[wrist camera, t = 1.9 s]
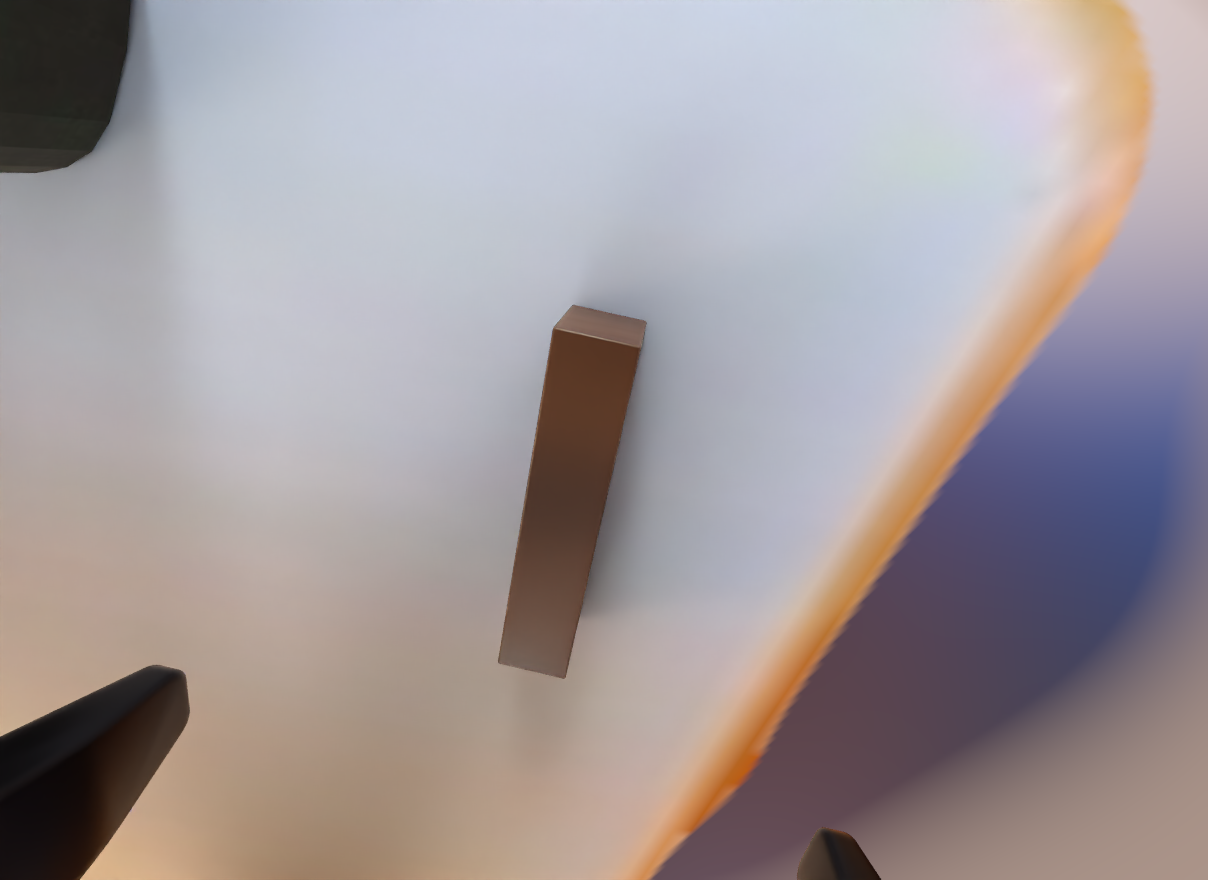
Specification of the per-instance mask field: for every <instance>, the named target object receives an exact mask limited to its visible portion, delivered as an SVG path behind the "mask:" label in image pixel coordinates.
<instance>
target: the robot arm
mask: <svg viewBox="0 0 1208 880" xmlns="http://www.w3.org/2000/svg"><path fill="white" fill-rule="evenodd" d="M189 713H190V707H189V698H188V689H187V680H186V675H185V674H184V673H183V671H181V670H178V669H174V668H170V667H166V666H162V665H152V666H148V667H146V668H143V669H141V670H139V671H137V672H135V673H133V674H131V675H129V676H127V677H124V678H122V679H120V680H118V681H116V682H114V683H112V684H110V685H108V686H106V687H103V688H101V689H99V690H97V691H95V692H93V693H91V694H89V695H87V696H85V697H82V698H80V699H78V700H76V701H74V702H72V703H70V704H68V705H66V706H64V707H61V708H59V709H57V710H55V711H53V712H51V713H49V714H47V715H45V716H43V717H40V718H38V719H36V720H34V721H32V722H30V723H28V724H26V725H24V726H22V727H20V728H17V729H15V730H13V731H11V732H9V733H7V734H5V735H3V736H1V737H0V880H80V879H81V877H82V876H83V875H84V874H85V872H86V871H87V870H88V868H89V867H90V866H91V865H92V863H93V862H94V861H95V859H96V858H97V857H98V856H99V854H100V853H101V852H102V850H103V849H104V848H105V846H106V845H107V844H108V842H109V841H110V839H111V838H112V837H113V835H114V834H115V832H116V831H117V829H118V828H119V827H120V825H121V824H122V822H123V821H124V819H125V818H126V816H127V815H128V813H129V812H130V810H131V809H132V807H133V806H134V804H135V802H136V801H137V799H138V798H139V796H140V795H141V793H142V792H143V790H144V789H145V787H146V786H147V784H148V783H149V781H150V780H151V778H152V777H153V775H154V774H155V772H156V771H157V769H158V768H159V766H160V765H161V763H162V762H163V760H164V759H165V757H166V756H167V754H168V753H169V751H170V750H171V748H172V747H173V745H174V744H175V742H176V741H177V739H178V737H179V736H180V734H181V733H182V731H183V730H184V728H185V726H186V724H187V721H188V718H189ZM797 880H881V878H880V877H879V875H878V874H877V872H876V871H875V869H874V868H873V866H872V865H871V863H870V862H869V860H868V859H867V857H866V856H865V854H864V853H863V851H862V850H861V848H860V847H859V845H858V844H857V842H856V841H855V839H853V837H852V836H850V835H849V834H847V833H845V832H841V831H837V830H833V829H829V828H825V827H822V828H820V829H818V830H817V832H816V833H815V835H814V836H813V838H812V840H811V842H810V844H809V846H808V848H807V850H806V851H805V853H804V855H803V857H802V859H801V861H800V863H799V867H798V873H797Z"/></svg>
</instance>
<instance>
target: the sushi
mask: <svg viewBox="0 0 1208 880" xmlns="http://www.w3.org/2000/svg"><path fill="white" fill-rule="evenodd" d="M129 13H130V0H0V172H7V173H37V172H43V171H48V170H54V169H59V168H64V167H68V166H69V165H71V164H72V163H74V162H76V161H77V160H79V159H80V158H82V157H84V156H85V155H87V154H88V153H90V152H92V150H93V149H94V147H95V145H96V144H97V142H98V140H99V139H100V137H101V135H102V134H103V132H104V130H105V129H106V127H107V125H108V124H109V122H110V118H111V114H112V109H113V105H114V101H115V97H116V93H117V88H118V84H119V80H120V76H121V72H122V67H123V63H124V59H125V55H126V51H127V39H128V26H129Z"/></svg>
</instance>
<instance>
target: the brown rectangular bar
mask: <svg viewBox="0 0 1208 880" xmlns="http://www.w3.org/2000/svg"><path fill="white" fill-rule="evenodd" d="M646 324H647V323H646V321H643V320H639V319H635V318H630V317H626V316H621V315H617V314H612V313H608V312H603V311H599V310H594V309H590V308H585V307H581V306H576V305H572V306H571V308H570V309H569V310H568V311H567V312H566V313H565V315H564V316H563V317H562V318H561V319H560V321H559V322H558V323H557V324H556V325H555V326H554V328H553V331H552V337H551V343H550V349H549V355H548V361H547V367H546V373H545V379H544V386H543V392H542V398H541V404H540V410H539V416H538V422H537V428H536V434H535V440H534V446H533V452H532V458H531V464H530V470H529V476H528V483H527V489H526V495H525V501H524V507H523V513H522V519H521V525H520V531H519V537H518V543H517V549H516V555H515V561H514V567H513V573H512V580H511V586H510V592H509V598H508V604H507V610H506V616H505V622H504V628H503V634H502V640H501V646H500V652H499V658H498V663H500V664H504V665H508V666H513V667H517V668H521V669H525V670H529V671H534V672H538V673H542V674H546V675H550V676H555V677H559V678H563V679H564V678H565V677H566V673H567V669H568V665H569V660H570V656H571V652H572V647H573V643H574V639H575V634H576V630H577V625H578V621H579V617H580V612H581V608H582V604H583V599H584V595H585V591H586V586H587V582H588V578H589V573H590V569H591V564H592V560H593V556H594V551H595V547H596V543H597V538H598V534H599V530H600V525H601V521H602V517H603V512H604V508H605V504H606V499H607V495H608V490H609V486H610V482H611V477H612V473H613V469H614V464H615V460H616V456H617V451H618V447H619V443H620V438H621V434H622V429H623V425H624V421H625V416H626V412H627V408H628V403H629V399H630V395H631V390H632V386H633V382H634V377H635V373H636V368H637V364H638V360H639V355H640V351H641V347H642V342H643V338H644V333H645V329H646Z"/></svg>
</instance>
